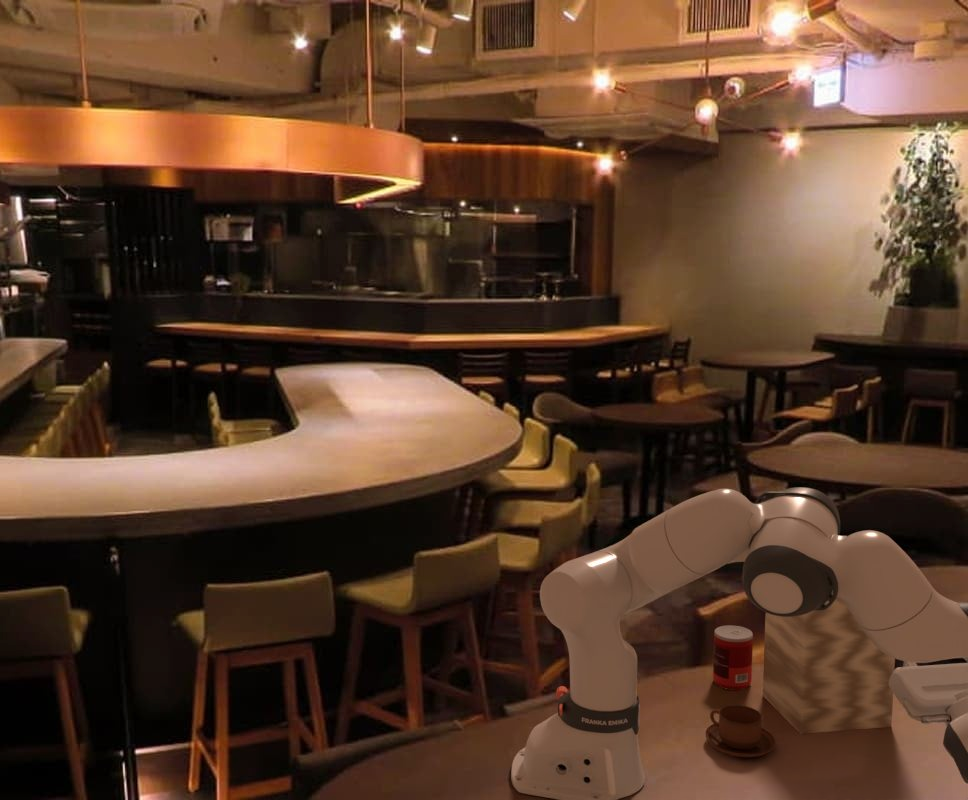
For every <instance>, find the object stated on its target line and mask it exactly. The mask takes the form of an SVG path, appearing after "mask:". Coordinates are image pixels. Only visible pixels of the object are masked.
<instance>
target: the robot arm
mask: <svg viewBox="0 0 968 800" xmlns="http://www.w3.org/2000/svg"><path fill="white" fill-rule="evenodd" d="M764 497H765V498H764ZM840 533H841V519H840V514H839V510H838V508H837V506H836V504H835V502H834V501H833V500H832V498H830V497H829V496H828V495H827V494H826V493H824V492H822V491H820V490H818V489H815V488H810V487H801V486H798V487H797V486H795V487H790V488H785V489H782V490H778V491H766V492H764V493H762V494H760V496H758V498H757V499H755V501H754V502H752V501H750V500H749V499H748V498H747V497H746V495H743V493H742V492H739V491H737V490H735V489H731V488H719V489H714V490H711V491H708V492H705V493H702V494H699V495H696V496H694V497H691V498H689V499H687V500H684V501H682V502H680V503H678V504H676V505H675V506H673V507H671V508H669V509H667V510H664V512H661V513H660V514H658V515H657V516H654V517H653V518H651V519H650V520H647V521H646V522H644V523H642V524H640V525H638V526H637V527H635V528H634V529H633V530H632V532H631V533H630V534H629V535H628V536H626V537H625V538H624V539H622V540H620V541H618V542H616V543H614V544H612V545H609V546H607V547H605V548H602V549H599V550H597V551H594V552H592V553H588V554H585V555H582V556H580V557H577V558H572V559H571V560H568V561H565V562H564V563H562V564H561V565H559V566H558V567H556V568H554V570H552V571H551V572H550V573H549V574H547V575H546V576H545V577H544V579H543V580H542V583H541V584H540V590H539V599H540V605H541V608H542V610H543V613H544V615H545V616H546V617H547V619H548V621H550V623H551V624H552V625H553V626H555V627H556V628H558V629H559V630H560V631H561V632H562V634H563V637H564V639H565V641H566V644H567V649H568V650H567V651H568V654H569V655H568V656H569V689H570V690H569V689H568V688H567V687H566V686H564V685H563V686H562V685H560V686H558V687H557V688H556V692H555V693H556V695H555V697H556V699H557V712H556V713H555V714H553V715H552V716H550V717H548V718H547V719H545V720H543V721H542V722H540V723H537V725H535V726H534V728H533V729H532V730H531V732H530V733H529V736H528V738H527V741H526V744H525V747H523V748H521V749H520V750H519V751H518V752H517V753H516V755H515V756H514V758H513V760H512V764H511V773H510V780H511V783H512V786H513V788H514V789H515V790H516V791H517V792H518V793H520V794H524V795H531V796H536V797H541V798H542V797H543V798H547V799H548V798H549V799H554V800H619V799H623V798H626V797H628V796H632V795H634V794H635V793H637V792H639V791H640V790H641V789H642V788H643V786H644V785H645V783H646V775H645V771H644V767H643V763H642V759H641V752H640V746H639V738H638V737H639V736H638V733H639V728H640V725H641V724H640V721H641V720H640V719H641V704H640V701H639V696H638V694H637V693H638V691H637V690H638V689H637V688H638V655H637V653H636V650H635V648H634V647H633V646H632V645H631V644H630V643H628V641H626V640H625V639H623V637H622V633H621V628H620V623H621V622H620V621H621V617H622V616H624V615H625V614H627V613H630V612H632V611H635V610H637V609H639V608H641V607H644V606H645V605H647V604H650V603H652V602H654V601H656V600H657V599H660V598H661V597H664V596H666V595H667V594H670V592H672V591H674V590H677V589H679V588H681V587H683V586H685V585H687V584H690V583H691V582H694V581H696V580H698V579H700V578H702V577H704V576H706V575H708V574H710V573H712V572H714V571H716V570H718V569H720V568H721V567H724V566H725V565H729V564H733V563H742V562H743V567H742V578H741V579H742V586H743V591H744V593H745V596H746V597H747V599H748V600H749V602H751V604H753V606H754V607H756V608H757V609H758V610H761V611H762V612H765V614H766V613H768V614H771V615H775V616H782V617H793V616H799V615H804V614H807V613H809V612H811V611H813V610H825V609H827V608H828V607H830V606H831V605H832V604H833V602H834V601H835V599H836V598H838V599H840V600H841V601H842V602H843V603H844V604H845V605H846V606H847V608H848V609H849V611H850V612H851V614H852V615H853V617H854V618H855V620H856V621H857V623H858V624H859V626H860V627H861V628H862V630H863V631H864V632H865V634H866V635H867V636H868V638H869V639H870V640H871V641H872V642H873V643H874V645H875V646H876V647H877V648H878V649H879V650H880V651H882V652H883V653H884V654H886V655H888V656H890V657H892V658H895V660H898V661H902V662H903V665H902V666H900V667H896V668H894V671H893V673H892V675H891V677H890V679H889V687H890V688H891V690H892V692H893V696H895V698H896V699H897V700H898V702H899V703H900V704H901V706H902V707H903V708H904V709H905V711H906V713H907V715H908V716H909V717H910V718H911V719H912V720H913V719H914V720H915V721H917V722H921V723H922V724H926V725H928V724H932V723H938V724H939V723H941V724H943V723H945V724H944V725H945V726H946V727H945V730H944V734H943V741H942V745H943V747H944V749H945V750H946V752H947V753H948V754H949V756H951V758H952V759H953V761H954V763H955V765H956V767H957V769H958V772H959V774H960V777H961V778H962V780H963V781H964V782H965V783H966V784H967V785H968V601H957V602H956V601H954V600H952V599H949V598H947V597H945V596H943V595H942V594H940V593H939V592H937V591H936V589H935V588H934V587H933V585H932V584H931V583H930V581H929V580H928V579H927V578H926V576H925V575H924V573H923V572H922V571H921V569H920V568H919V567H918V566H917V564H916V563H915V561H914V560H912V558H911V557H910V556H909V555H908V554H907V553H906V551H905V550H903V549H902V547H900V545H898V543H896V542H895V541H894V540H893V539H892V538H891V537H890V536H889V535H887V534H885V533H884V532H880V531H877V530H871V529H868V530H867V529H866V530H861V531H856V532H854V533H851V534H849V535H840ZM827 601H829V603H828V604H827V605H824V604H825V603H826V602H827ZM952 659H964V660H965V661H966V662H959V663H957V662H956V663H947V664H944V663H943V664H933V665H918V664H927V663H933V662H939V661H946V660H952ZM568 690H569V691H568Z"/></svg>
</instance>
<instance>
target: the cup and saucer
mask: <svg viewBox="0 0 968 800" xmlns="http://www.w3.org/2000/svg"><path fill="white" fill-rule="evenodd" d="M715 714H718V717H719V718H718V719H719V721H716V719H715ZM709 718H710V720H711V722H712V724H711V725H709V726H708V727H707V728H706V730H705V738H706V741H707V742H708V743H709V745H711V746H712V747H713V748H714V749H716V750H717V751H719V752H720V753H723V754H725V755H728V756H733V757H737V758H757V757H761V756H764V755H765V754H766V755H767V753H769V752H771V751H772V750H773V749H774V747H775V743H776V740H775V737H774V736H773V735H772V733H771V732H770V731H768V730H767V729H765V728H763V727H762V723H763V721H762V720H763V716H762V714H761V713H760V711H758V710H757V709H754V708H753V707H749V706H747V705H740V704H731V705H726V706H723V707H721V708H720V709H712V710H711V711H710V713H709Z"/></svg>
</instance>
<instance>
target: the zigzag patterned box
mask: <svg viewBox="0 0 968 800" xmlns="http://www.w3.org/2000/svg"><path fill="white" fill-rule="evenodd" d="M828 603H829V601H827V602H826V603H825V604H824V605H827V604H828ZM764 617H765V619H764V649H763V679H762V696H763V697H764V699H766V700H767V702H769V704H771V706H773V708H774V709H775V710H776V711H777V712H778V713H779V714H780V715H781V716H782V717H783V718H784V719H785V720H787V722H788V723H789V724H790V725H791V726H792V727H794V729H795V730H797V732H798V733H799V734H800V735H802V734H803V735H805V734H817V733H830V732H840V731H842V732H843V731H852V730H854V731H855V730H869V729H878V728H880V729H881V728H891V727H892V725H893V724H892V723H893V701H894V693H893V692H892V690H891V688H890V687H889V679H890V677H891V675H892V673H893V671H894V670H895V669H896V668H895V667H896V666H895V665H896V664H895V663H896V659H895V658H892V657H890V656H888V655H886V654H884V653H883V652H882V651H880V650H879V649H878V648H877V647H876V646H875V645H874V643H873V642H872V641H871V640H870V639H869V638H868V636H867V635H866V634H865V632H864V631H863V630H862V628H861V627H860V626H859V624H858V623H857V621H856V620H855V618H854V617H853V615H852V614H851V612H850V611H849V609H848V608H847V606H846V605H845V604H844V603H843V602H842V601H841V600H840V599H838V598H836V599H835V601H834V602H833V604H832V605H831V606H830V607H828V608H827V609H825V610H813V611H811V612H809V613H807V614H804V615H799V616H793V617H782V616H775V615H771V614H768V613H766V612H765V616H764Z"/></svg>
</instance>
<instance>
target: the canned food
mask: <svg viewBox="0 0 968 800" xmlns="http://www.w3.org/2000/svg"><path fill="white" fill-rule="evenodd" d="M753 645H754V634H753V632H752V630H751V629H749V628H747V627H744V626H741V625H730V624H729V625H728V624H727V625H721V626H717V627H716V628H715V629H714V633H713V661H712V662H713V663H712V665H713V666H712V671H713V672H712V677H713V679H712V680H713V682H714V684H715V685H717V686H718V687H719V686H720V688H722V687H723V688H722V689H725V688H727V689H726V690H729V689H733V690H732V691H738V690H739V691H740V689H742V690H745V689H747V688H749V687H750V686H751V683H752V673H753V649H754V646H753ZM749 685H750V686H749ZM748 686H749V687H748ZM744 688H745V689H744Z"/></svg>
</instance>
